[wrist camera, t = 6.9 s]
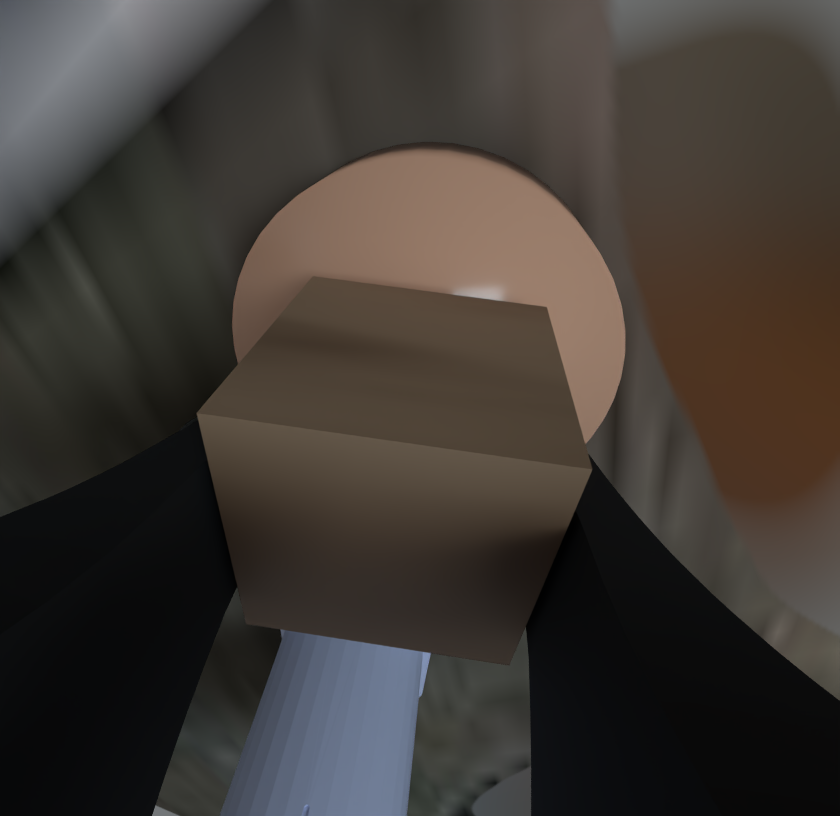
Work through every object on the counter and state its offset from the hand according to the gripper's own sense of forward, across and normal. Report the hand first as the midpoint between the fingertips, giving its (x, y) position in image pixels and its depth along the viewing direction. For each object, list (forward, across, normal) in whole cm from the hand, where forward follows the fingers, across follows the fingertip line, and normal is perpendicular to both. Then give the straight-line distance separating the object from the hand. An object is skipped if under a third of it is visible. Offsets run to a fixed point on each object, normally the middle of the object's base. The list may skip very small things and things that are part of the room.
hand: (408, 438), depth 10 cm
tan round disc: (+5, 0, 0) cm, 5 cm away
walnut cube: (+2, 0, 0) cm, 2 cm away
